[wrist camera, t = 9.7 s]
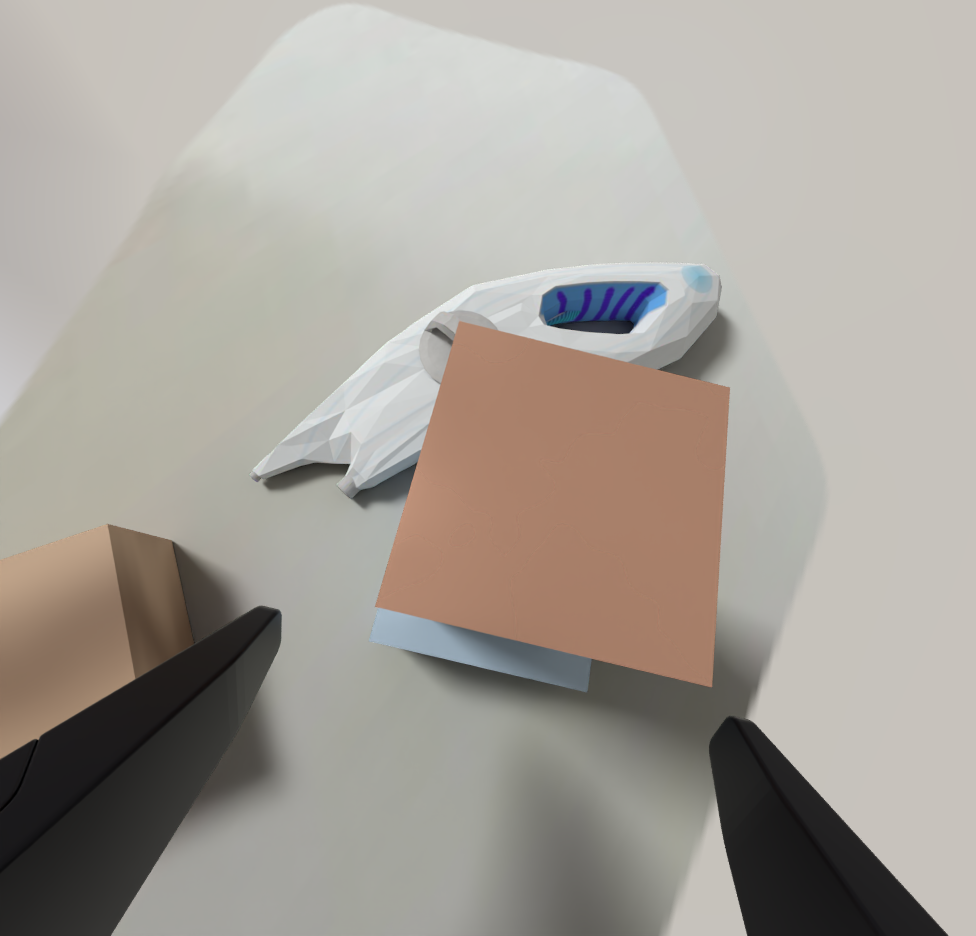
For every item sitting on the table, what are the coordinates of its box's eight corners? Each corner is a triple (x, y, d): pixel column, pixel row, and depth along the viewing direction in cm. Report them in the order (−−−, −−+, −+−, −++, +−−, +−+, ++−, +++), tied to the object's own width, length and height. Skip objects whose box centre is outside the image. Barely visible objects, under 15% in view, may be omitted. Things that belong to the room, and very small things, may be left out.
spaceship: (661, 251, 25) (706, 178, 20) (726, 349, 23) (789, 292, 19) (230, 400, 20) (173, 345, 16) (277, 535, 18) (227, 514, 14)
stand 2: (560, 676, 17) (587, 692, 14) (384, 635, 17) (368, 641, 14) (587, 504, 20) (615, 482, 16) (431, 467, 19) (427, 437, 16)
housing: (555, 642, 14) (711, 688, 6) (418, 609, 14) (374, 606, 6) (577, 508, 16) (730, 387, 7) (453, 478, 16) (459, 321, 7)
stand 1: (211, 724, 16) (148, 754, 13) (-13, 820, 15) (-149, 882, 11) (171, 540, 18) (107, 524, 14) (-32, 611, 16) (-154, 611, 13)
